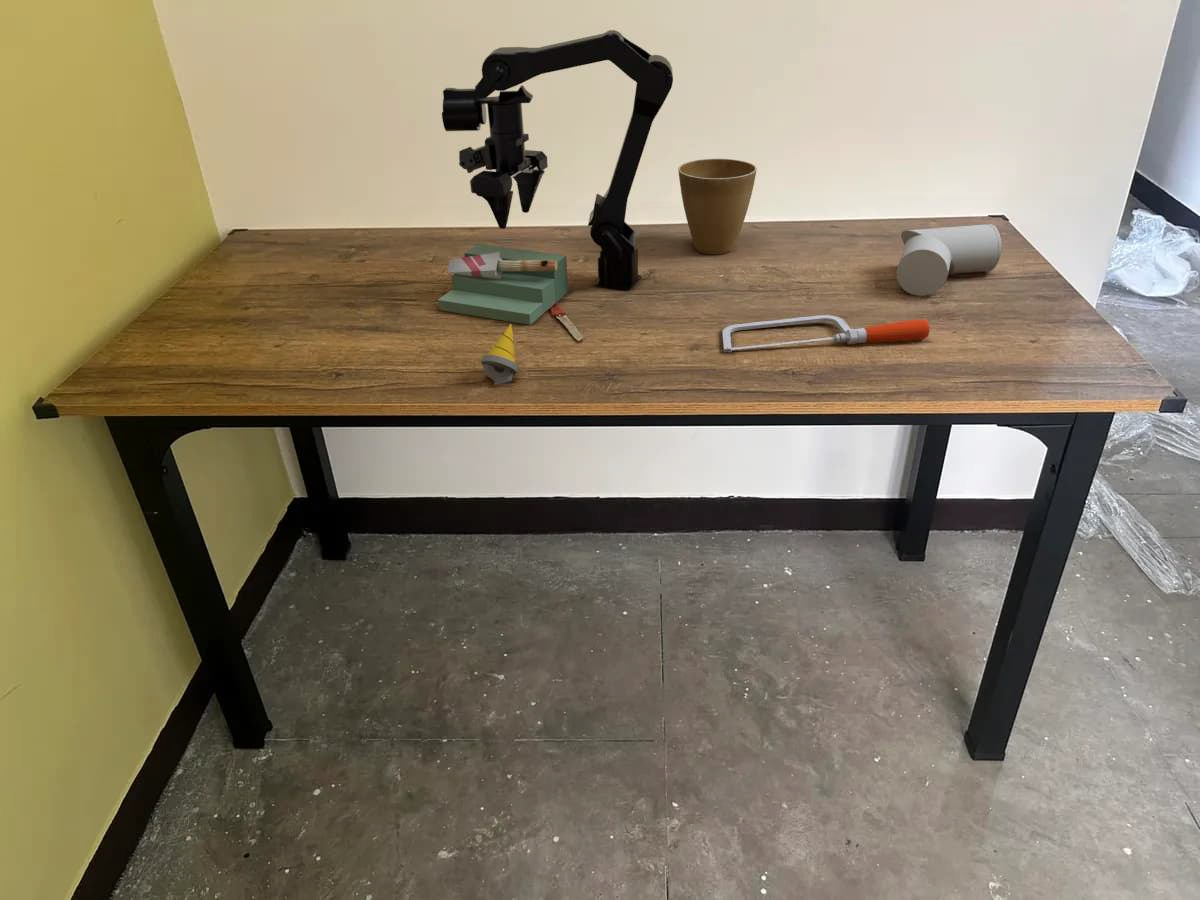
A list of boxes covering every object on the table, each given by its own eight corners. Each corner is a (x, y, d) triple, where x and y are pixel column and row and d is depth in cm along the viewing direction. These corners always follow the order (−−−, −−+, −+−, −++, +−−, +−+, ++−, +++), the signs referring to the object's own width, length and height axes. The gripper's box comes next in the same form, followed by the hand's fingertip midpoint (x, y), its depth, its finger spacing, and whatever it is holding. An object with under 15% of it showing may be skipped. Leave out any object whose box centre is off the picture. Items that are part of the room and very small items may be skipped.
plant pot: (765, 245, 179) (771, 164, 170) (723, 267, 169) (728, 183, 161) (704, 230, 187) (707, 153, 178) (661, 250, 178) (662, 170, 169)
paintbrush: (447, 251, 157) (556, 252, 152) (453, 261, 159) (559, 261, 154) (443, 270, 155) (552, 270, 150) (448, 279, 158) (556, 280, 153)
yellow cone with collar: (473, 383, 134) (490, 322, 136) (506, 394, 135) (523, 333, 137) (480, 376, 129) (498, 313, 131) (514, 387, 130) (532, 324, 132)
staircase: (568, 292, 161) (566, 255, 157) (530, 325, 150) (527, 286, 146) (481, 279, 167) (478, 243, 164) (439, 310, 156) (434, 272, 152)
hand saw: (725, 345, 137) (712, 319, 145) (725, 363, 138) (712, 337, 147) (932, 323, 138) (907, 299, 147) (929, 341, 140) (905, 316, 148)
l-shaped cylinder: (895, 246, 172) (881, 284, 157) (916, 194, 166) (904, 228, 151) (986, 276, 169) (981, 317, 153) (1011, 224, 162) (1009, 262, 147)
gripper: (490, 115, 161) (498, 201, 169) (437, 140, 146) (449, 232, 155) (546, 118, 157) (551, 206, 165) (497, 144, 142) (506, 238, 151)
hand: (514, 220), depth 159 cm, fingers open, 9 cm apart
